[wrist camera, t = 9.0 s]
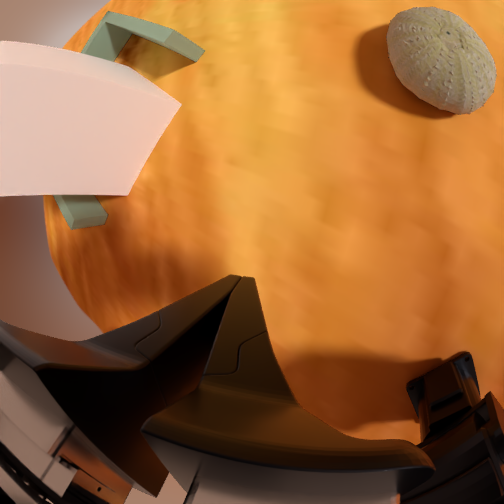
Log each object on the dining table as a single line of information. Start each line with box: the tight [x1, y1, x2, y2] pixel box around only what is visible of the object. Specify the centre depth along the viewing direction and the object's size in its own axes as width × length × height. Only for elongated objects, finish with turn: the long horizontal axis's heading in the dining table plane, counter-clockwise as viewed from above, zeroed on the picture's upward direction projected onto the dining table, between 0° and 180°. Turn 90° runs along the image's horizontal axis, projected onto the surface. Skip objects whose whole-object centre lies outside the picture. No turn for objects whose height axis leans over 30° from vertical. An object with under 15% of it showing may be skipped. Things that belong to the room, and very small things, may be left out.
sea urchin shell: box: [386, 7, 497, 115], centre depth 11 cm, size 9×8×8 cm
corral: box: [53, 11, 205, 230], centre depth 19 cm, size 16×28×19 cm, turn 140°
